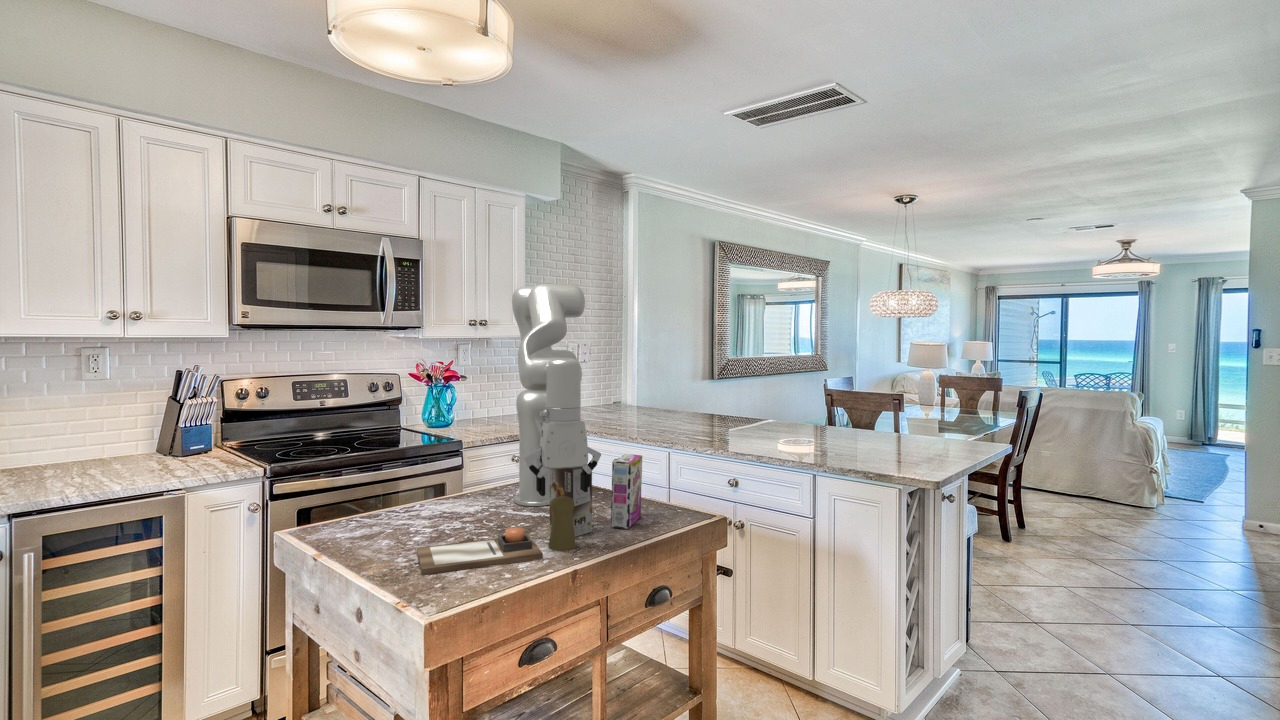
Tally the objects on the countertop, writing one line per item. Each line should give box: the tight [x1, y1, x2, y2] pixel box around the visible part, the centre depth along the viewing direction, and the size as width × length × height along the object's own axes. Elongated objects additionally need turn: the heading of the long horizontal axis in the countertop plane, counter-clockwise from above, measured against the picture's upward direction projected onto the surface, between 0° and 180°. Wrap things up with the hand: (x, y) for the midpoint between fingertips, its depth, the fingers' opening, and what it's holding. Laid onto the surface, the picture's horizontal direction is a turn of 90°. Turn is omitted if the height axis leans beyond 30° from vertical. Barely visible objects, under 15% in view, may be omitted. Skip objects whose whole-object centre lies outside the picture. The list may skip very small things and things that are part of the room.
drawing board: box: [416, 532, 544, 576], centre depth 133 cm, size 13×24×3 cm, turn 114°
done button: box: [504, 526, 525, 542], centre depth 136 cm, size 4×4×2 cm
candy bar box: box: [610, 453, 643, 530], centre depth 157 cm, size 11×5×16 cm, turn 164°
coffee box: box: [549, 467, 593, 538], centre depth 150 cm, size 9×6×16 cm
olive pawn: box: [548, 496, 577, 552], centre depth 139 cm, size 6×6×11 cm
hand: (563, 492), depth 139 cm, fingers open, 9 cm apart
